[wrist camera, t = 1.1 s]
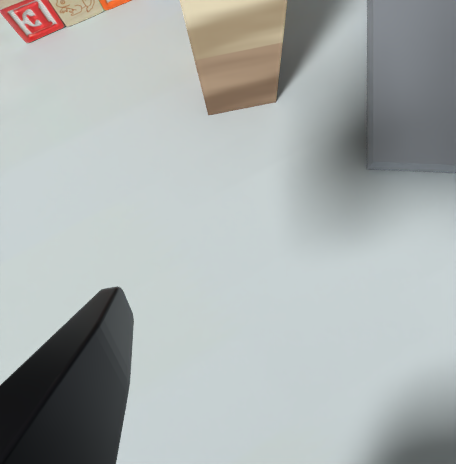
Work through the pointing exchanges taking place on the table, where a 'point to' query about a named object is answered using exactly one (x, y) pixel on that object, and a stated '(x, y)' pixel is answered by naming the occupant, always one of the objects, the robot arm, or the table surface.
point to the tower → (236, 50)
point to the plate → (411, 85)
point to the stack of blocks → (50, 14)
